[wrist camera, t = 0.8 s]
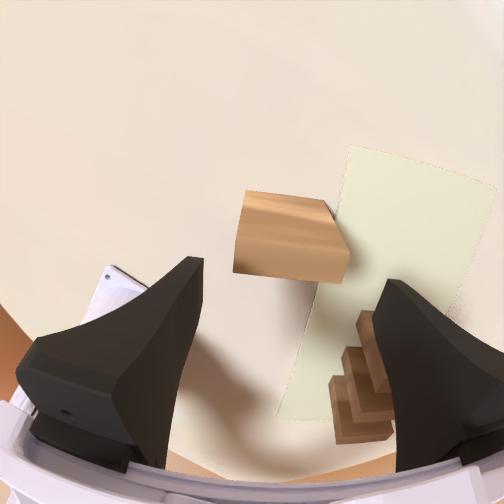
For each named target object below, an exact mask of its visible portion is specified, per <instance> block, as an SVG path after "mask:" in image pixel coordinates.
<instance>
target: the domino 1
mask: <svg viewBox="0 0 504 504" xmlns="http://www.w3.org/2000/svg"><path fill="white" fill-rule="evenodd" d="M349 257H350V252H349V250H348V248H347V246H346V244H345V242H344V240H343V238H342V236H341V234H340V232H339V230H338V228H337V226H336V224H335V222H334V220H333V218H332V216H331V214H330V212H329V210H328V208H327V206H326V204H325V202H324V200H318V199H311V198H304V197H296V196H289V195H281V194H273V193H265V192H257V191H248V190H246V192H245V197H244V201H243V206H242V211H241V216H240V221H239V226H238V231H237V236H236V241H235V252H234V264H233V273H240V274H249V275H257V276H267V277H276V278H285V279H295V280H304V281H314V282H324V283H334V284H342V280H343V277H344V274H345V271H346V267H347V264H348V261H349Z"/></svg>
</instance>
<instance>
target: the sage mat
mask: <svg viewBox="0 0 504 504" xmlns="http://www.w3.org/2000/svg"><path fill="white" fill-rule="evenodd" d="M496 192H497V188H496V187H494V186H491V185H488V184H486V183H483V182H480V181H478V180H475V179H472V178H469V177H466V176H464V175H461V174H458V173H455V172H452V171H449V170H446V169H442V168H439V167H436V166H433V165H429V164H426V163H423V162H419V161H416V160H412V159H408V158H405V157H401V156H397V155H393V154H389V153H385V152H381V151H377V150H372V149H368V148H364V147H359V146H354V145H350V148H349V153H348V159H347V164H346V169H345V174H344V179H343V184H342V188H341V193H340V198H339V202H338V207H337V211H336V216H335V220H334V222H335V224H336V226H337V228H338V230H339V232H340V234H341V236H342V238H343V240H344V242H345V244H346V246H347V248H348V250H349V252H350V257H349V261H348V264H347V267H346V271H345V274H344V277H343V280H342V284H334V283H324V282H319V283H318V287H317V291H316V294H315V298H314V301H313V305H312V308H311V312H310V315H309V319H308V322H307V325H306V329H305V332H304V335H303V338H302V342H301V345H300V348H299V351H298V354H297V357H296V360H295V363H294V366H293V369H292V372H291V375H290V378H289V381H288V384H287V387H286V390H285V393H284V396H283V399H282V401H281V404H280V407H279V410H278V413H277V415H276V420H285V421H333V415H332V408H331V401H330V394H329V388H328V384H329V382H330V380H331V377H332V375H344V371H343V366H342V361H341V356H342V354H343V352H344V350H345V348H346V346H355V347H362V345H361V341H360V338H359V335H358V332H357V328H356V325H355V324H356V322H357V320H358V317H359V315H360V312H361V310H370V311H375V308H376V306H377V304H378V301H379V299H380V296H381V294H382V291H383V289H384V286H385V284H386V281H387V279H388V278H389V279H399V280H402V281H403V282H405V283H406V284H408V285H409V286H410V287H412V288H413V289H414V290H415V291H417V292H418V293H419V294H420V295H421V296H423V297H424V298H425V299H426V300H427V301H428V302H430V303H431V304H432V305H433V306H434V307H436V308H437V309H438V310H439V311H440V312H442V313H443V314H444V315H446V313H447V311H448V309H449V307H450V306H451V304H452V302H453V300H454V298H455V296H456V294H457V292H458V290H459V288H460V286H461V283H462V281H463V279H464V277H465V275H466V273H467V270H468V268H469V266H470V264H471V261H472V259H473V257H474V254H475V252H476V249H477V247H478V244H479V242H480V239H481V237H482V234H483V231H484V229H485V226H486V223H487V220H488V217H489V214H490V211H491V208H492V205H493V202H494V199H495V195H496Z"/></svg>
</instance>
